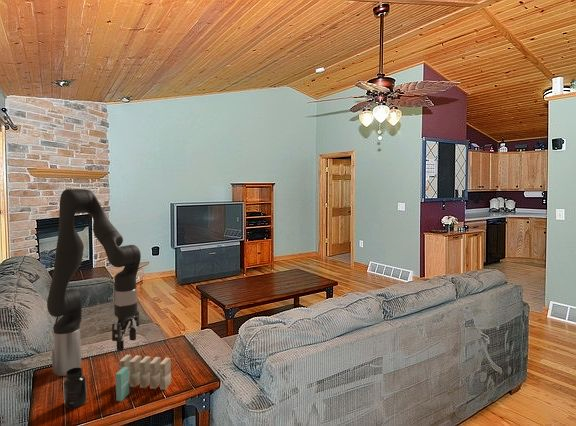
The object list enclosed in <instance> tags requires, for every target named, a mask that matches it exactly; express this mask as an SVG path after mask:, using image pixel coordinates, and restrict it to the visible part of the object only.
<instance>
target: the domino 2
mask: <svg viewBox="0 0 576 426" xmlns="http://www.w3.org/2000/svg"><path fill="white" fill-rule="evenodd" d="M129 394H130V382H129V367H123V368H122V369H121V370H120V369H119V370H118V371H117V372H116V373H115V396H116V397H115V401H116V402H123V401H124V400H125V399H126V398H127V396H128V395H129Z"/></svg>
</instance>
